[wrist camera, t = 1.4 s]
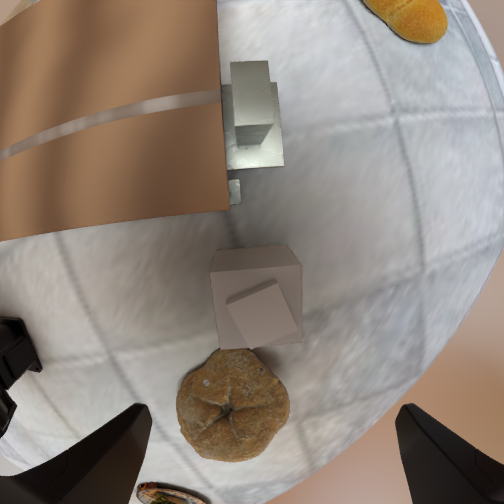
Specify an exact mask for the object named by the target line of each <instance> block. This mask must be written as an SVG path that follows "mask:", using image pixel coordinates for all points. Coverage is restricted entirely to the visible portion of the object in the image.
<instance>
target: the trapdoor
mask: <svg viewBox="0 0 504 504" xmlns="http://www.w3.org/2000/svg"><path fill="white" fill-rule="evenodd" d="M229 209H230V201H229V189H228V176H227V163H226V150H225V137H224V123H223V108H222V93H221V77H220V60H219V41H218V21H217V0H40V1H38V2H37V3H35V4H33V5H32V6H30V7H28V8H27V9H25V10H24V11H22V12H21V13H19V14H18V15H16V16H15V17H13V18H12V19H10V20H9V21H7V22H6V23H5V24H3V25H2V26H1V27H0V242H1V241H6V240H11V239H17V238H22V237H27V236H33V235H38V234H44V233H50V232H56V231H62V230H68V229H75V228H81V227H88V226H95V225H102V224H109V223H116V222H124V221H131V220H139V219H147V218H156V217H164V216H173V215H183V214H192V213H202V212H213V211H224V210H229Z"/></svg>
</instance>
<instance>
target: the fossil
mask: <svg viewBox="0 0 504 504" xmlns="http://www.w3.org/2000/svg"><path fill="white" fill-rule="evenodd" d="M176 410H177V416H178V422H179V425H180V426H181V430H180V431H181V433H182V435H183V436H184V437H185V439H186V440H187V442H188V443H189V444H190V445H191V446H192V447H193V448H194V449H195V451H196V452H197V453H198V454H199V455H200V456H201V457H203V458H206V459H213V460H218V461H224V462H240V461H246V460H248V459H252V458H254V457H256V456H258V455H259V454H260V453H262V452H263V451H264V450H265V449H266V447H267V446H268V444H269V443H270V441H271V440H272V439H273V437H274V435H275V434H277V432H278V431H279V430H280V429H281V428H282V427H283V426H284V425H285V424H286V422H287V420H288V418H289V413H290V401H289V397H288V393H287V390H286V388H285V386H284V385H283V384H282V382H281V381H280V380H279V379H278V377H277V376H275V375H274V374H273V373H272V372H271V371H270V370H269V369H268V368H267V367H266V366H265V365H264V363H263V362H262V361H261V360H260V359H259V358H258V357H257V356H256V355H255V353H253V352H252V351H250V350H248V349H245V348H240V349H225V350H217V351H216V352H215V353H214V354H213V355H211V357H210V358H209V359H208V360H207V362H206V364H205V365H204V366H203V367H202V368H200V369H198V370H196V371H193V372H192V373H190V374H189V376H188V377H187V378H186V379H185V380H184V382H183V383H182V385H181V388H180V389H179V391H178V395H177V399H176Z"/></svg>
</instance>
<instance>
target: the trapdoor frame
mask: <svg viewBox="0 0 504 504" xmlns="http://www.w3.org/2000/svg"><path fill="white" fill-rule="evenodd" d="M230 67H231V81H232V84H231V85H221V93H222V108H223V123H224V137H225V150H226V163H227V170H234V169H246V168H261V167H278V166H284V160H283V147H282V135H281V123H280V112H279V101H278V91H277V82H270V76H269V67H268V61H244V62H230ZM228 189H229V201H230V205H232V204H241V194H240V182H239V179H235V180H228Z"/></svg>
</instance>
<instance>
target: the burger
mask: <svg viewBox="0 0 504 504" xmlns="http://www.w3.org/2000/svg"><path fill="white" fill-rule="evenodd" d="M136 496H137V498H138V499H139V500H140V501H141V502H142V503H143V504H206V503H205V502H203V501H202V500H200V499H199V498H197V497H194V496H192V495H190V494H186V493H183V492H179V491H175V490H170V489H164V488H157V482H156V483H155V482H149V483H147V482H146V483H145V486H144V487H143V488H141V485H140V484H139V485H138V487H137V493H136Z"/></svg>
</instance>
